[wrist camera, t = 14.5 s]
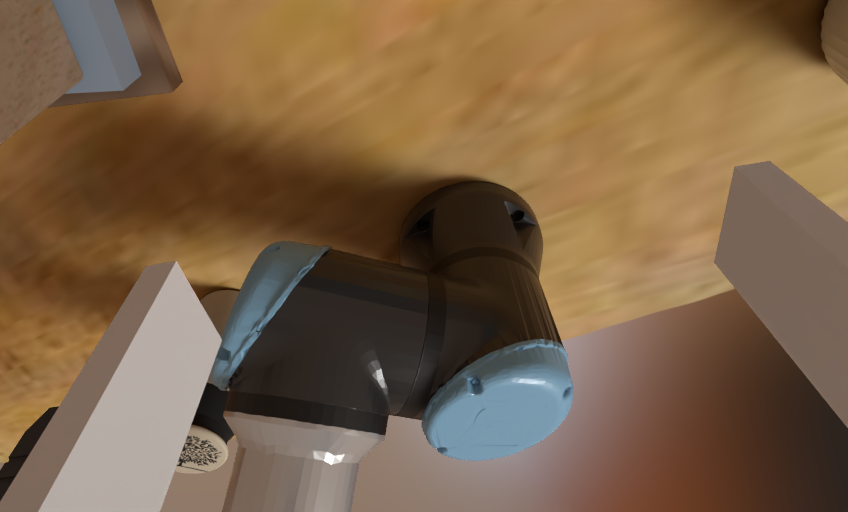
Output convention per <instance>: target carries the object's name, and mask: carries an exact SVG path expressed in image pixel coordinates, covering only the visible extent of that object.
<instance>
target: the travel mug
mask: <svg viewBox="0 0 848 512" xmlns="http://www.w3.org/2000/svg"><path fill="white" fill-rule="evenodd" d="M238 294H239V291H233V290H220V291H215V292H212V293H210V294H208V295H206V296H205V297H204V298H203V299H202V300H201V301H200V303H201V304H202V306H203V308H204V310H205V311H206V313H207V315H208V316H209V318H210V320H211V322H212V323H213V325H214V327H215V329H216V330H217V332H218V334H219V335H220V337H221V336H222V333H223V330H224V327H225V325H226V322H227V320H228V317H229V315H230V312H231V310H232V307H233V305H234V303H235V300H236V298H237V296H238ZM210 375H211V372H210ZM210 375H209V377H208V380H207V383H206V386H205V388H204V391H203V394H202V397H201V399H200V402H199V405H198V408H197V410H196V413H195V416H194V419H193V421H192V424H191V427H190V430H189V432H188V435H187V438H186V441H185V443H184V446H183V449H182V452H181V454H180V457H179V460H178V463H177V465H176V468H175V472H181V473H203V472H208V471H211V470H214V469H216V468H218V467H220V466H221V465H222V464H223V463H224V462H225V461H226V459H227V457H228V447H227V442H228V441H229V440H230V439H231V438H232V437H233V436H234V433H233V431H232V430H231V428H230V426H229V425H228V423H227V422H226V420H225V418H224V417H223V413H224V409H225V405H226V401H227V397H228V394H229V388H228V389H227V391H221V390H220V389H219V388H218V387H217V386H215V385H213V383H212V381H211V379H210Z"/></svg>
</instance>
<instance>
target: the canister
mask: <svg viewBox="0 0 848 512" xmlns="http://www.w3.org/2000/svg"><path fill="white" fill-rule="evenodd" d="M821 25H822V31H821V39H822V49H823V51H824V53H825V58H826V60H827V62H828V63H829V64H830V66H831V68H832V70H833V71H834V72H835V73H836V74H837V75H838V76H839V77H840V78H841V79H842V80H843V81H844V82H845V83H846V84H848V0H828V3H827V6H826V7H825V9H824V17H823V20H822V22H821Z"/></svg>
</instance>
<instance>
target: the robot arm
mask: <svg viewBox="0 0 848 512" xmlns="http://www.w3.org/2000/svg"><path fill="white" fill-rule="evenodd" d="M542 253H543V239H542V233H541V230H540V227H539V224H538V222H537V219H536V217H535V214H534V212H533V211H532V209H531V207H530V206H529V205H528V204H527V203H526V201H525V200H523V199H522V198H521V197H520V196H519V195H517V194H516V193H514V192H513V191H511V190H509V189H507V188H505V187H502V186H499V185H495V184H491V183H485V182H465V183H458V184H454V185H450V186H447V187H444V188H442V189H439V190H437V191H435V192H433V193H432V194H430V195H428V196H427V197H425V198H424V199H423V200H421V201H420V202H419V203H418V204H417V205H416V206H415V207H414V208H413V209H412V211H411V212H410V213H409V215H408V216H407V218H406V220H405V221H404V224H403V226H402V229H401V232H400V238H399V258H400V264H401V265H398V264H393V263H389V262H384V261H380V260H376V259H371V258H367V257H363V256H358V255H354V254H350V253H346V252H342V251H338V250H334V249H332V247H330V246H326V245H325V246H322V247H320V246H314V245H308V244H302V243H296V242H291V241H279V242H275V243H273V244H271V245H269V246H268V247H266V248H265V249H264V250H263V251H262V252H261V253H260V255H259V256H258V257H257V259H256V260H255V262H254V264H253V265H252V267H251V269H250V271H249V273H248V275H247V277H246V279H245V281H244V283H243V285H242V287H241V289H240V291H239V294H238V296H237V298H236V300H235V303H234V305H233V307H232V310H231V312H230V315H229V317H228V320H227V322H226V325H225V327H224V330H223V333H222V336H221V337H220V335H219V334H218V332H217V330H216V329H215V327H214V325H213V323H212V322H211V320H210V318H209V316H208V315H207V313H206V311H205V310H204V308H203V306H202V304H201V303H200V301H199V299H198V298H197V296H196V294H195V292H194V291H193V289H192V287H191V285H190V284H189V282H188V280H187V279H186V277H185V275H184V273H183V272H182V270H181V268H180V267H179V265H178V263H177V261H174V262H168V263H162V264H156V265H150V266H146V267H145V269H144V270H143V272H142V274H141V275H140V277H139V278H138V280H137V282H136V283H135V285H134V286H133V288H132V290H131V291H130V293H129V295H128V296H127V298H126V299H125V301H124V303H123V304H122V306H121V307H120V309H119V311H118V312H117V314H116V316H115V317H114V319H113V320H112V322H111V324H110V325H109V327H108V328H107V330H106V332H105V333H104V335H103V336H102V338H101V340H100V341H99V343H98V345H97V346H96V348H95V349H94V351H93V353H92V354H91V356H90V357H89V359H88V361H87V362H86V364H85V366H84V367H83V369H82V370H81V372H80V374H79V375H78V377H77V378H76V380H75V382H74V383H73V385H72V387H71V388H70V390H69V391H68V393H67V395H66V396H65V398H64V399H63V401H62V403H61V404H60V406H58V407H52V408H49V409H48V410H47V411H46V412H45V413H44V414H43V415H42V416H41V417H40V418H39V419H38V420H37V421H36V422H35V423H34V424H33V425H32V426H31V427H30V428H29V429H28V430H27V431H26V432H25V433H24V435H23V436H22V438H21V439H20V441H19V442H18V444H17V445H16V447H15V448H14V450H13V452H12V453H11V455H10V456H9V462H7V463H5V464H4V465H3V467H2V468H1V470H0V512H160V510H161V506H162V504H163V501H164V498H165V496H166V493H167V490H168V487H169V485H170V482H171V479H172V476H173V474H174V471H175V468H176V465H177V463H178V460H179V457H180V454H181V452H182V449H183V446H184V443H185V441H186V438H187V435H188V432H189V430H190V427H191V424H192V421H193V419H194V416H195V413H196V410H197V408H198V405H199V402H200V399H201V397H202V394H203V391H204V388H205V386H206V383H207V380H208V377H209V375H210V372H211V375H210V379H211V381H212V383H213V385H215V386H217V387H218V388H219V389H220V390H221V391H227V389H228V388H229V394H228V397H227V401H226V405H225V409H224V413H223V417H224V418H225V420H226V422H227V423H228V425H229V426H230V428H231V430H232V431H233V433H234V435H235V436H236V439H237V443H238V450H237V453H236V457H235V462H234V466H233V470H232V474H231V478H230V482H229V486H228V489H227V493H226V498H225V502H224V506H223V510H222V512H351V510H352V504H353V498H354V492H355V486H356V481H357V474H358V469H359V463H360V462H361V460H362V459H363V458H364V456H365V455H367V454H368V453H369V452H370V451H371V450H373V449H374V448H375V447H376V446H378V445H379V444H380V443H381V442H383V441H384V439H385V433H386V427H387V421H388V416H389V415H393V416H401V417H406V418H411V419H419V420H422V428H423V432H424V434H425V435H426V438H427V440H428V442H429V443H430V445H431V446H433V447H434V448H437V450H438V452H440V453H441V454H443V455H445V456H448V457H451V458H455V459H459V460H470V461H477V460H478V461H479V460H489V459H495V458H500V457H505V456H508V455H512V454H515V453H517V452H519V451H522V450H523V449H526V448H529V447H531V446H533V445H535V444H537V443H538V442H540V441H542V440H543V439H545V438H546V437H547V436H549V435H550V434H551V433H552V432H553V431H555V430H556V428H557V427H559V425H560V424H561V423H562V422H563V420H564V419H565V417H566V416H567V414H568V412H569V410H570V407H571V405H572V401H573V392H574V391H573V384H572V380H571V376H570V372H569V368H568V355H567V353H566V351H565V349H564V347H563V344H562V342H561V339H560V336H559V333H558V331H557V328H556V325H555V322H554V320H553V317H552V314H551V311H550V309H549V306H548V303H547V300H546V298H545V295H544V292H543V289H542V287H541V284H540V281H539V273H540V266H541V260H542ZM714 263H715V264H716V265H717V266H718V268H719V269H720V270H721V271H722V273H723V274H724V275H725V276H726V277H727V279H728V280H729V281H730V282H731V284H732V285H733V286H734V287H735V289H736V290H737V291H738V292H739V294H740V295H741V296H742V297H743V298H744V300H745V301H746V302H747V303H748V305H749V306H750V307H751V309H752V310H753V311H754V312H755V313H756V315H757V316H758V317H759V318H760V320H761V321H762V322H763V323H764V325H765V326H766V327H767V328H768V330H769V331H770V332H771V333H772V335H773V336H774V337H775V338H776V340H777V341H778V342H779V343H780V345H781V346H782V347H783V348H784V349H785V351H786V352H787V353H788V354H789V356H790V357H791V358H792V359H793V361H794V362H795V363H796V364H797V366H798V367H799V368H800V369H801V370H802V372H803V373H804V374H805V375H806V377H807V378H808V379H809V380H810V382H811V383H812V384H813V385H814V387H815V388H816V389H817V390H818V392H819V393H820V394H821V395H822V397H823V398H824V399H825V400H826V402H827V403H828V404H829V405H830V407H831V408H832V409H833V410H834V411H835V413H836V414H837V415H838V416H839V418H840V419H841V420H842V421H843V423H844V424H845V425H846V426H847V427H848V222H847V221H845V220H844V219H843V218H841V217H840V216H839V215H838V214H836V213H835V212H834V211H833V210H831V209H830V208H829V207H827V206H826V205H825V204H824V203H822V202H821V201H820V200H819V199H817V198H816V197H815V196H814V195H812V194H811V193H810V192H808V191H807V190H806V189H805V188H803V187H802V186H801V185H800V184H798V183H797V182H796V181H794V180H793V179H792V178H791V177H789V176H788V175H787V174H786V173H784V172H783V171H782V170H780V169H779V168H778V167H777V166H775V165H774V164H773V163H772V162H770V161H766V162H760V163H754V164H749V165H743V166H737V167H734V172H733V176H732V181H731V186H730V191H729V195H728V200H727V205H726V210H725V214H724V219H723V224H722V228H721V233H720V238H719V243H718V247H717V252H716V257H715V261H714Z"/></svg>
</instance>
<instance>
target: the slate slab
mask: <svg viewBox="0 0 848 512" xmlns="http://www.w3.org/2000/svg"><path fill="white" fill-rule="evenodd" d="M52 1H53V4H54V6H55V8H56V11H57V13H58V15H59V18H60V20H61V23H62V25H63V27H64V30H65V32H66V34H67V37H68V39H69V42H70V44H71V46H72V49H73V51H74V53H75V56H76V58H77V60H78V63H79V65H80V68H81V70H82V72H83V79H82V80H81V81H80V82H79V83H77V84H76V85H75V86H73V87H72V88H71V89H70V90H68V91H67V92H66V93H65V94H69V93H88V92H106V91H123V90H125V89H126V88H127V87H128V86H129V85H130V84H132V83H133V82H134V81H135V80H136V79H138V78H139V77H140V76H141V72H140V70H139V67H138V64H137V61H136V59H135V56H134V53H133V51H132V48H131V45H130V42H129V40H128V37H127V34H126V32H125V29H124V26H123V23H122V21H121V18H120V15H119V13H118V10H117V7H116V4H115V2H114V0H52Z"/></svg>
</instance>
